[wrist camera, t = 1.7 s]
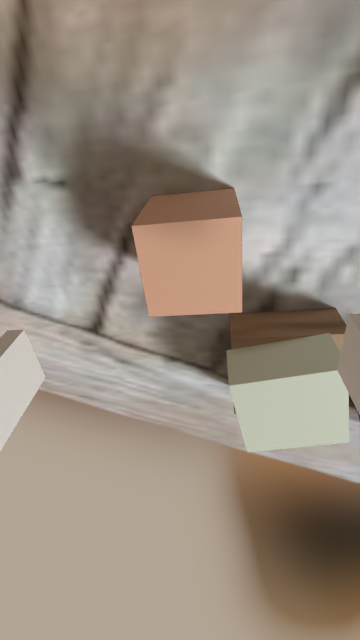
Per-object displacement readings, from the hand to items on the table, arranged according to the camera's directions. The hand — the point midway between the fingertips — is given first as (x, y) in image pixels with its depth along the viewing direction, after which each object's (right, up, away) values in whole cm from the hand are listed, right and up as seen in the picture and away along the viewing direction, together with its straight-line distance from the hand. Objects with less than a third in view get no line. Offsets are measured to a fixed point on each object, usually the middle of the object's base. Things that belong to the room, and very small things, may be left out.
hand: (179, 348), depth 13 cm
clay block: (+1, +8, +11) cm, 14 cm away
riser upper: (+9, -4, +14) cm, 17 cm away
